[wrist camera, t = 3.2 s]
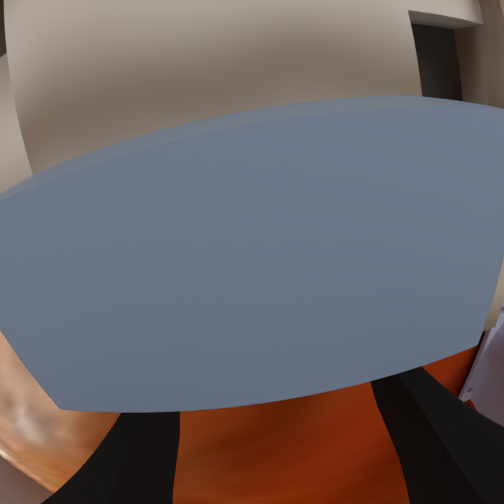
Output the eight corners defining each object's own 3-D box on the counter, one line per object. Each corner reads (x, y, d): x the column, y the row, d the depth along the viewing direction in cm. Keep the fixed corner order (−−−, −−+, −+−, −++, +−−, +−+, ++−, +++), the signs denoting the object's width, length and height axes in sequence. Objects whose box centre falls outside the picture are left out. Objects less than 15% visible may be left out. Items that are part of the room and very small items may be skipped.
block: (409, 260, 9) (477, 344, 6) (103, 313, 10) (60, 409, 6) (406, 95, 7) (516, 111, 3) (44, 169, 7) (-52, 227, 4)
